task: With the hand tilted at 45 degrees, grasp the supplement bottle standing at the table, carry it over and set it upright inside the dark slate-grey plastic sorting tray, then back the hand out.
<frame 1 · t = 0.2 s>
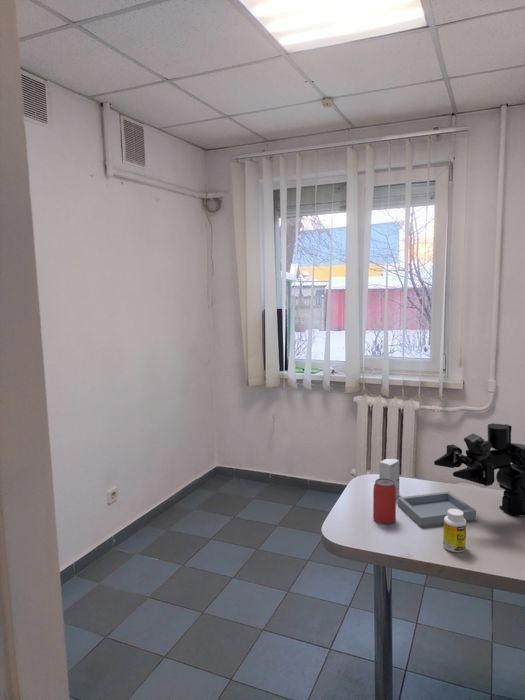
hand: (443, 468, 141), 17 cm above the table, tool horizontal, fingers open, 9 cm apart
sorting tray: (435, 513, 149), on the table
skincare box: (389, 496, 162), on the table
supplement bottle: (454, 548, 130), on the table
beer can: (384, 520, 146), on the table
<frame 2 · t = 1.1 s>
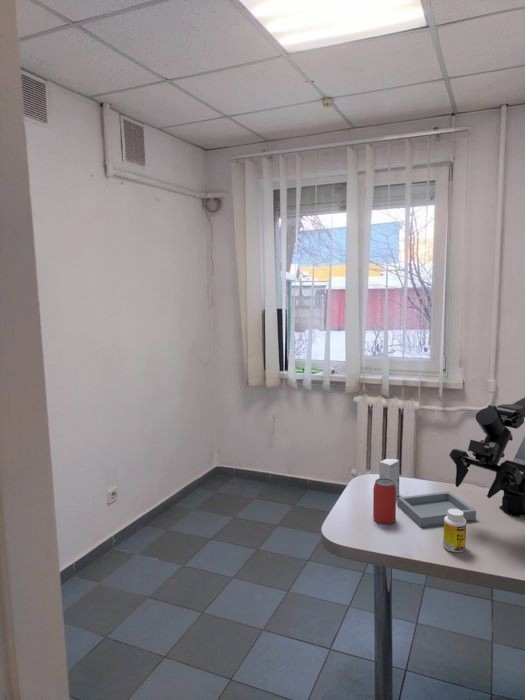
hand: (471, 491, 133), 14 cm above the table, tool tilted 45°, fingers open, 9 cm apart
nothing on the table moved.
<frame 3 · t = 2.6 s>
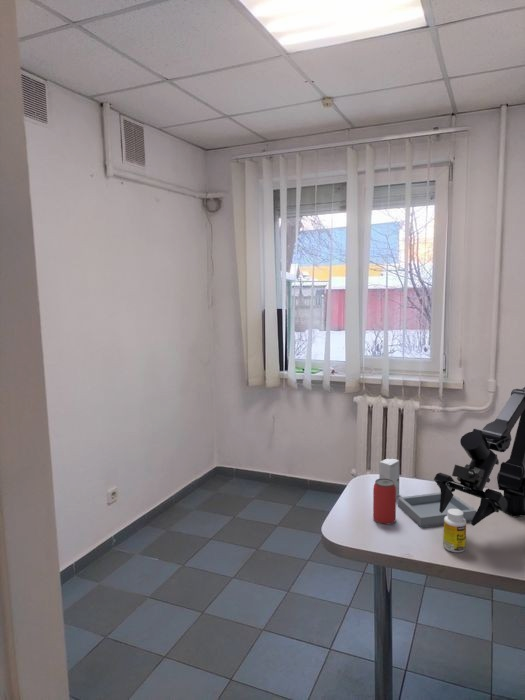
hand: (456, 518, 129), 8 cm above the table, tool tilted 45°, fingers open, 9 cm apart
nothing on the table moved.
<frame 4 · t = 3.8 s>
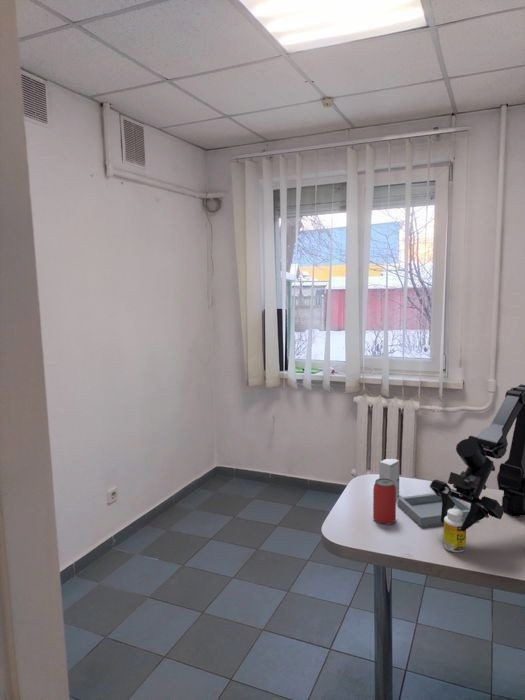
hand: (451, 526, 128), 7 cm above the table, tool tilted 45°, fingers closed on supplement bottle, 5 cm apart
supplement bottle: (454, 548, 130), on the table, touching gripper
everything else where it was.
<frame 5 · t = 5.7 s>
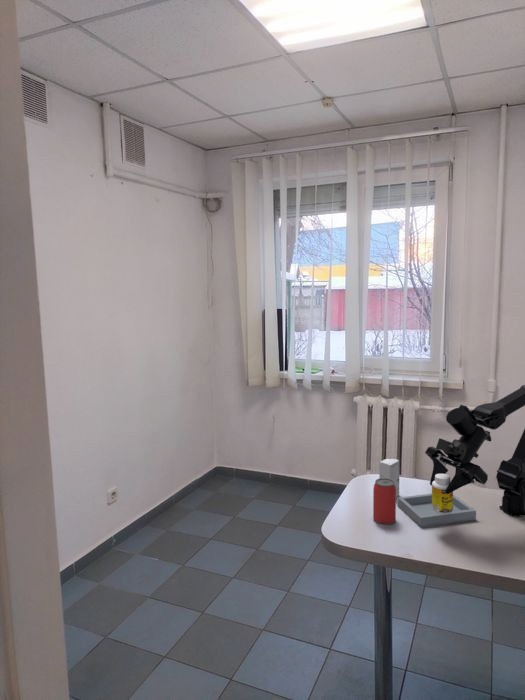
hand: (438, 489, 135), 13 cm above the table, tool tilted 45°, fingers closed on supplement bottle, 5 cm apart
supplement bottle: (442, 511, 137), point 6 cm above the table, touching gripper
everything else where it was.
when the fingers open (8 cm above the table, at t = 7.8 s): supplement bottle stays where it is, resting on sorting tray.
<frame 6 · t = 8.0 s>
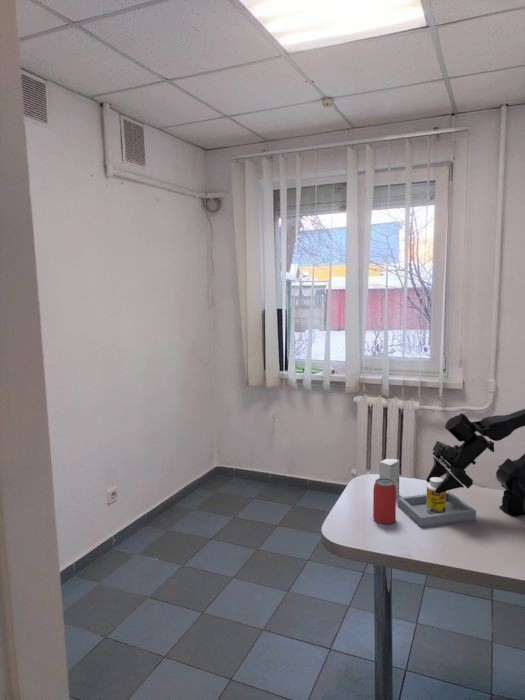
hand: (431, 486, 148), 9 cm above the table, tool tilted 45°, fingers open, 8 cm apart
supplement bottle: (435, 511, 149), resting on sorting tray
everything else where it was.
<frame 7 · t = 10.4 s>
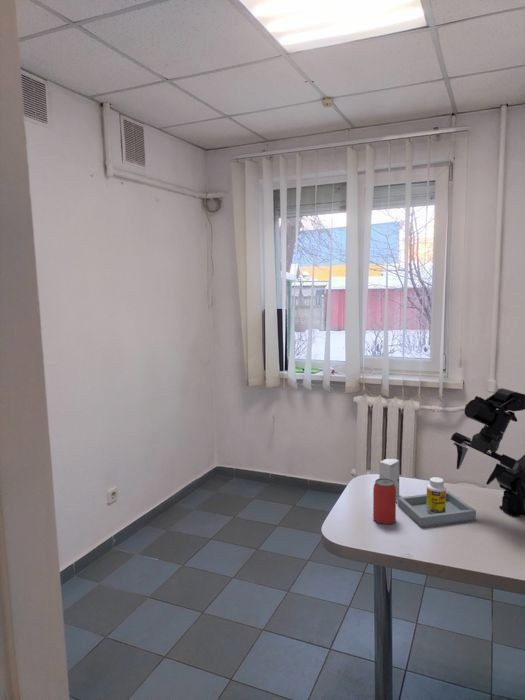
hand: (472, 476, 145), 13 cm above the table, tool tilted 25°, fingers open, 9 cm apart
nothing on the table moved.
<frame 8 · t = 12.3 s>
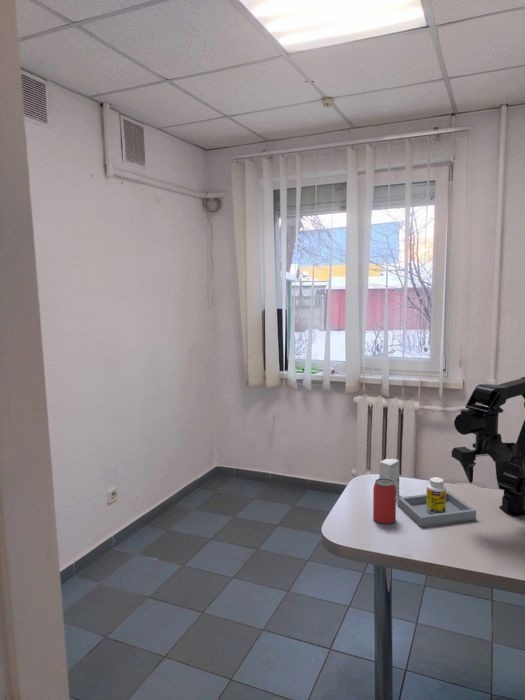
hand: (484, 480, 141), 13 cm above the table, tool pointing down, fingers open, 9 cm apart
nothing on the table moved.
at the end: supplement bottle inside the target area on the sorting tray (0.1 cm from its centre), point 0.4 cm above the sorting tray's base; supplement bottle tilted 0°; the gripper is holding nothing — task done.
